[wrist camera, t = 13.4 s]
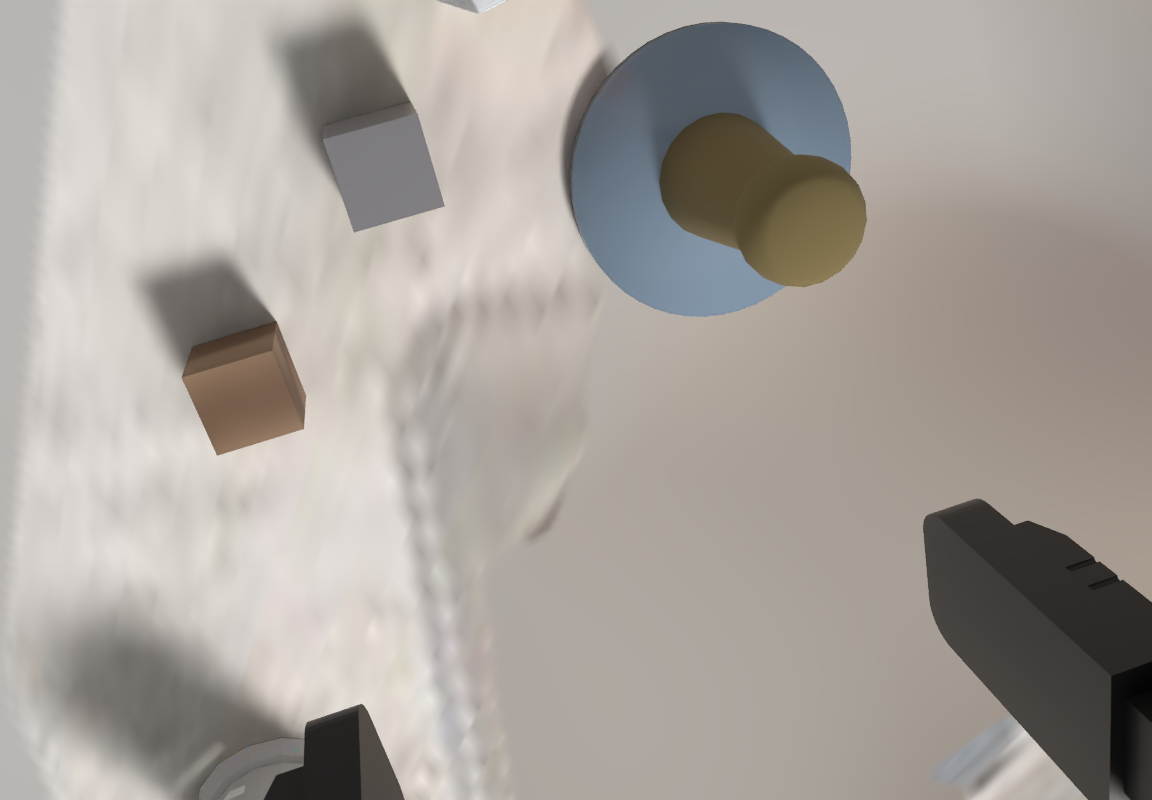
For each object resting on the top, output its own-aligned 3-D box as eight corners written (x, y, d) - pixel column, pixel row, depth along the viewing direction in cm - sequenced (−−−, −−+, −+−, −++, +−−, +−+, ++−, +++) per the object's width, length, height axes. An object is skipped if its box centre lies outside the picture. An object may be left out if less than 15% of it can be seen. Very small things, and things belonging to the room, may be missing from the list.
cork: (791, 209, 50) (905, 271, 40) (680, 257, 49) (767, 331, 39) (760, 92, 47) (874, 126, 37) (642, 141, 47) (725, 190, 37)
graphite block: (323, 125, 44) (322, 139, 41) (410, 101, 45) (417, 113, 41) (352, 211, 46) (354, 232, 42) (435, 187, 46) (444, 206, 43)
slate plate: (538, 66, 45) (542, 68, 44) (824, -13, 47) (834, -12, 46) (604, 343, 51) (609, 350, 50) (855, 266, 53) (864, 271, 52)
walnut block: (193, 345, 47) (181, 377, 43) (276, 321, 47) (272, 350, 44) (225, 419, 49) (217, 455, 45) (305, 394, 49) (303, 428, 45)
